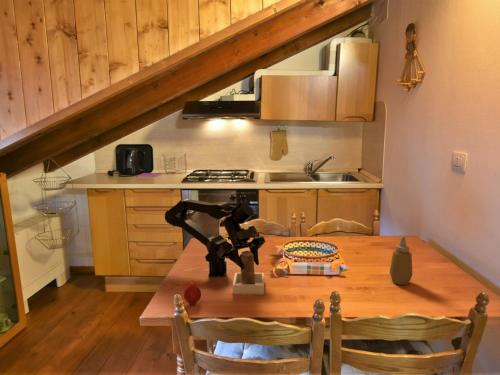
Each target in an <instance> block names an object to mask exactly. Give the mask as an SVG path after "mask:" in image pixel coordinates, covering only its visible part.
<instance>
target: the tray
mask: <svg viewBox="0 0 500 375" xmlns="http://www.w3.org/2000/svg"><path fill="white" fill-rule="evenodd" d="M254 273H255V284H242V279H241V272H234V277H233V281H232V295H244V296H245V295H246V296H247V295H255V296H257V295H258V296H263V295H265V272H254Z"/></svg>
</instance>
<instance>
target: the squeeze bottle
mask: <svg viewBox="0 0 500 375" xmlns="http://www.w3.org/2000/svg"><path fill="white" fill-rule="evenodd" d="M391 255H392V256H391V260H390V261H391V262H390V267H389V275H390V278H391V281H392V283H394V284H395V285H399V286H408V285H409V283H410V281H411V279H412V276H413V259H412V258H413V257H412V253H411V252H410V246H409V245H407V241H406V236H401V237H400V240H399V244H396V245H395V249H394V251H393V252H392V254H391Z"/></svg>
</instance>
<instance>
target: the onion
mask: <svg viewBox="0 0 500 375" xmlns="http://www.w3.org/2000/svg"><path fill="white" fill-rule="evenodd" d="M201 291H202V290H201V288H200V286H198V285H197V284H195V283H194V282H190V284H188V285H187V286H186V287H185V289H184V292H183V298H184V300H185V301H186V302H187V303H188V304H190V305H192V306H194V305H195V304H197V303H198V302H199V301H200V299H201V297H202V292H201Z"/></svg>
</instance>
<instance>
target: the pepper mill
mask: <svg viewBox="0 0 500 375" xmlns="http://www.w3.org/2000/svg"><path fill="white" fill-rule="evenodd" d="M239 256H240V258H241V261H242V263H243V265H244V269H241V268H240V273H241V279H242V284H255V273H256V272H255V262H254V258H253V254H252V253H251V251H250V250H244V251H241V254H239Z"/></svg>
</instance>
